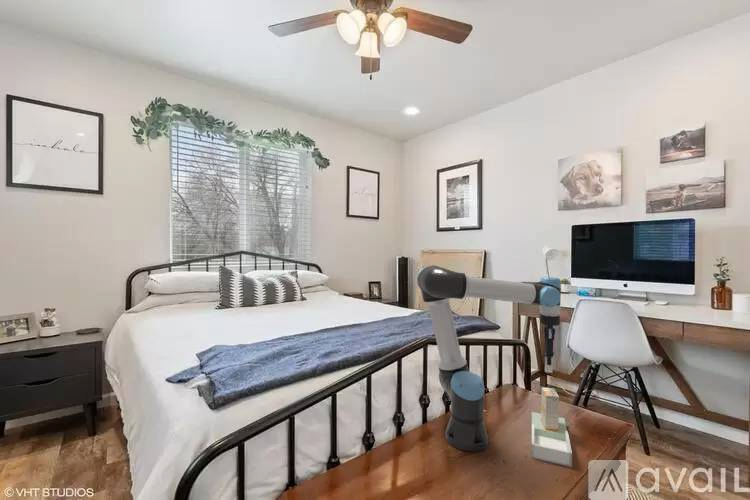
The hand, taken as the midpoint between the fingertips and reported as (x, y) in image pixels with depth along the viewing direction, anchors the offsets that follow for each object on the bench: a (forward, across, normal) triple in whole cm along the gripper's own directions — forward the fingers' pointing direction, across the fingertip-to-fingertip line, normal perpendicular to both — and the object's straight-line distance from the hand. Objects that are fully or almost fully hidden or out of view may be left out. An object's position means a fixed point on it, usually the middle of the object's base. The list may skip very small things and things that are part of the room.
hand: (548, 370), depth 145 cm
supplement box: (+18, -11, 0) cm, 21 cm away
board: (+20, -9, 0) cm, 22 cm away
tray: (+20, -24, 0) cm, 32 cm away
